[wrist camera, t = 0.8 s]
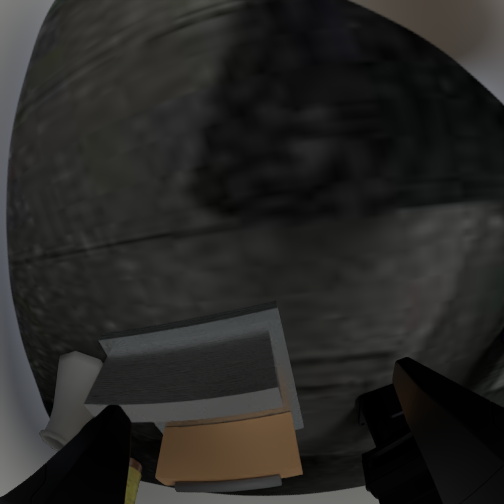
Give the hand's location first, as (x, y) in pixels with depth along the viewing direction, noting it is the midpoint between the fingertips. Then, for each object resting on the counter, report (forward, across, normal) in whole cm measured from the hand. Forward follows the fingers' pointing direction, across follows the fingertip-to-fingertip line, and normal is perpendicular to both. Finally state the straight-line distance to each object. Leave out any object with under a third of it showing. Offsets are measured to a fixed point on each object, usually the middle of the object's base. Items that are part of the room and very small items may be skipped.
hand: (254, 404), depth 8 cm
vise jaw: (+13, +6, +19) cm, 24 cm away
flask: (+14, +19, +10) cm, 26 cm away
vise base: (+14, +6, +14) cm, 20 cm away
